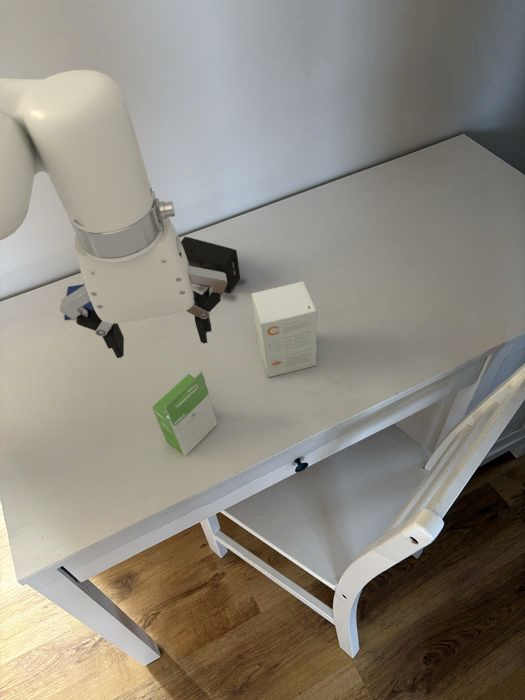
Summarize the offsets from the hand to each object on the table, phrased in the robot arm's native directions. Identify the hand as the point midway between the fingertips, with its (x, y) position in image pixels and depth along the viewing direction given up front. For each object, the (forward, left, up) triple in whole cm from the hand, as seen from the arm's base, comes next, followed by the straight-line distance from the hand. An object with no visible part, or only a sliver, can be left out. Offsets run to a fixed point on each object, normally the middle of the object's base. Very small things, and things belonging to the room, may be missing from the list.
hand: (162, 341), depth 62 cm
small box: (+16, +11, -22) cm, 29 cm away
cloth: (-12, +31, -22) cm, 40 cm away
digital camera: (+5, +31, -22) cm, 38 cm away
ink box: (0, 0, -22) cm, 22 cm away
